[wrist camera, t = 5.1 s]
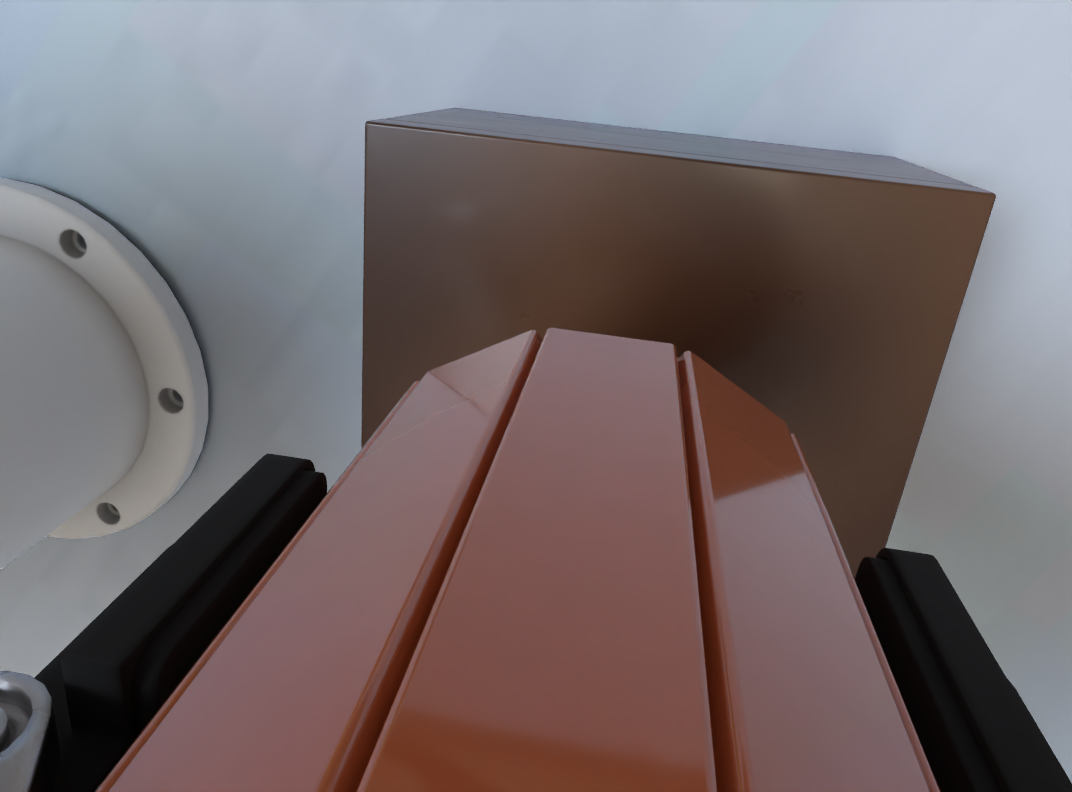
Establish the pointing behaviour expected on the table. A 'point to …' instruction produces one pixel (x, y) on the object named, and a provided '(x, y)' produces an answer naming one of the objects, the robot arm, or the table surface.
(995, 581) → the table surface
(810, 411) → the shelf
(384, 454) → the cup
